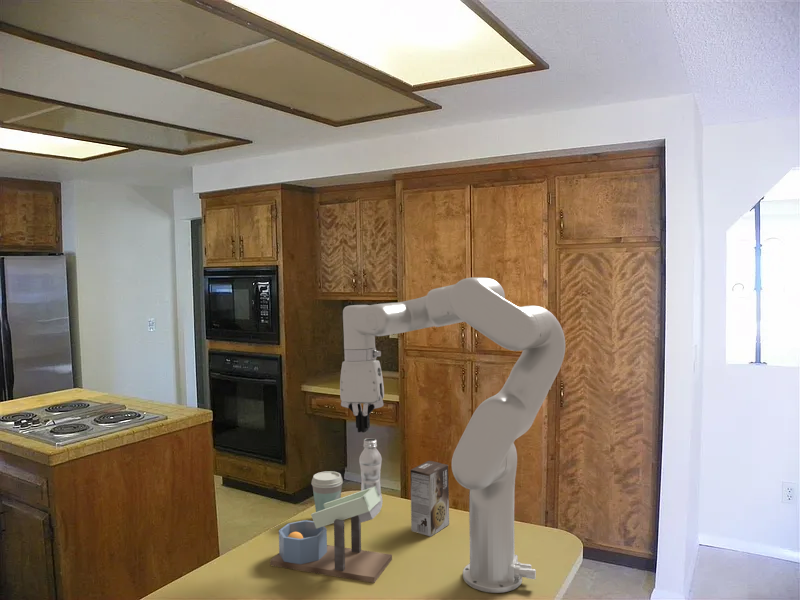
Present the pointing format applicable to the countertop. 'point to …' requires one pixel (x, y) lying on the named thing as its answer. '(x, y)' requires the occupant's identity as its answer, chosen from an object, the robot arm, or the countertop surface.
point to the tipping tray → (349, 508)
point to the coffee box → (429, 498)
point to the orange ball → (295, 535)
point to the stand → (344, 557)
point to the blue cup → (302, 542)
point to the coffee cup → (326, 488)
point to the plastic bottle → (371, 467)
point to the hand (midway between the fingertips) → (363, 430)
